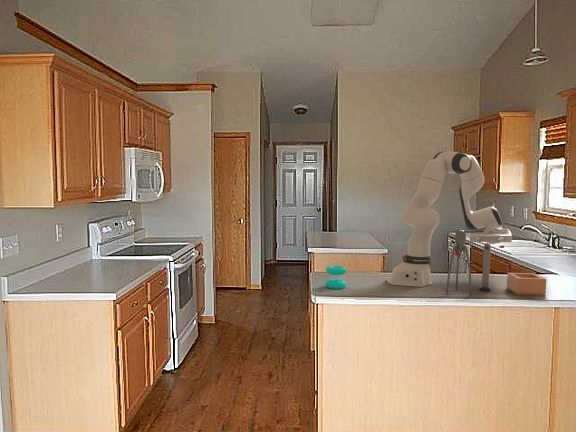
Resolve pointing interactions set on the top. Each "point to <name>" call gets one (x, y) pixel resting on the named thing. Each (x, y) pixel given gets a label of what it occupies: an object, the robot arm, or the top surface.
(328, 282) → the donuts
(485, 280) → the pepper mill
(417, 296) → the top surface
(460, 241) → the juicer
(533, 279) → the orange open box
